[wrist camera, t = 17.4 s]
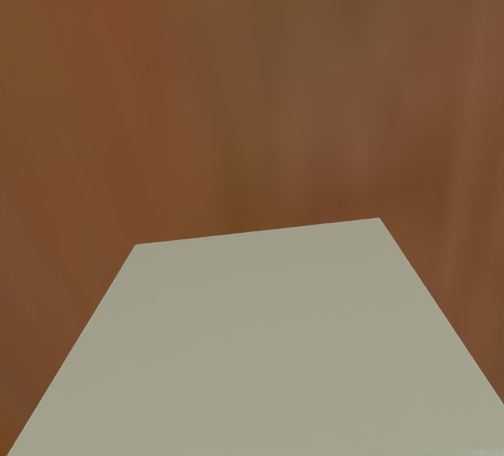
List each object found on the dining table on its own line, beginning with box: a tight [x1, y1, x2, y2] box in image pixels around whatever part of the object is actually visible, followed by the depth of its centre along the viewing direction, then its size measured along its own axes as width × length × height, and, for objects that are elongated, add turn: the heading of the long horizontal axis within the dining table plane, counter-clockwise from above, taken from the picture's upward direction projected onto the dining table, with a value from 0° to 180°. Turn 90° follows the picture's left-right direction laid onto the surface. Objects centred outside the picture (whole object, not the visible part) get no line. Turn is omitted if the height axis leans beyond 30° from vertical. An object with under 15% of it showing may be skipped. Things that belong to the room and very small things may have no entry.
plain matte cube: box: [7, 218, 504, 456], centre depth 9 cm, size 6×6×6 cm
